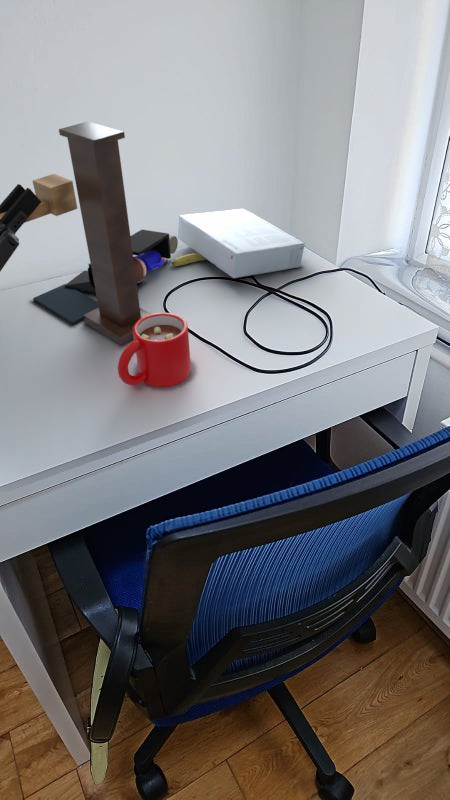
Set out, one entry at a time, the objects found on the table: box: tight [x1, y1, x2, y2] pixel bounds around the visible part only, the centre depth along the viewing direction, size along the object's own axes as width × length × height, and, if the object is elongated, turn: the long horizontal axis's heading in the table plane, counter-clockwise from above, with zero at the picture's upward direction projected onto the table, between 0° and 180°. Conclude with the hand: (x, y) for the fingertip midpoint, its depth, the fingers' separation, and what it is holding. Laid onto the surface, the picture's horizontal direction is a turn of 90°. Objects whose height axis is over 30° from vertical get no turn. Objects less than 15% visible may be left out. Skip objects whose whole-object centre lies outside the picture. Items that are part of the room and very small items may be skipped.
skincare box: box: [177, 208, 306, 279], centre depth 114 cm, size 21×6×16 cm
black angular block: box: [65, 262, 143, 295], centre depth 106 cm, size 12×7×5 cm, turn 69°
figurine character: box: [130, 229, 179, 283], centre depth 110 cm, size 7×8×15 cm
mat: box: [32, 283, 99, 326], centre depth 103 cm, size 12×7×1 cm, turn 47°
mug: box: [117, 312, 192, 388], centre depth 84 cm, size 8×12×8 cm, turn 138°
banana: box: [171, 252, 208, 267], centre depth 113 cm, size 8×2×4 cm
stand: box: [58, 121, 152, 346], centre depth 88 cm, size 8×10×31 cm
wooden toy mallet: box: [0, 173, 78, 225], centre depth 88 cm, size 13×5×4 cm, turn 137°
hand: (29, 193), depth 87 cm, fingers closed on wooden toy mallet, 2 cm apart
